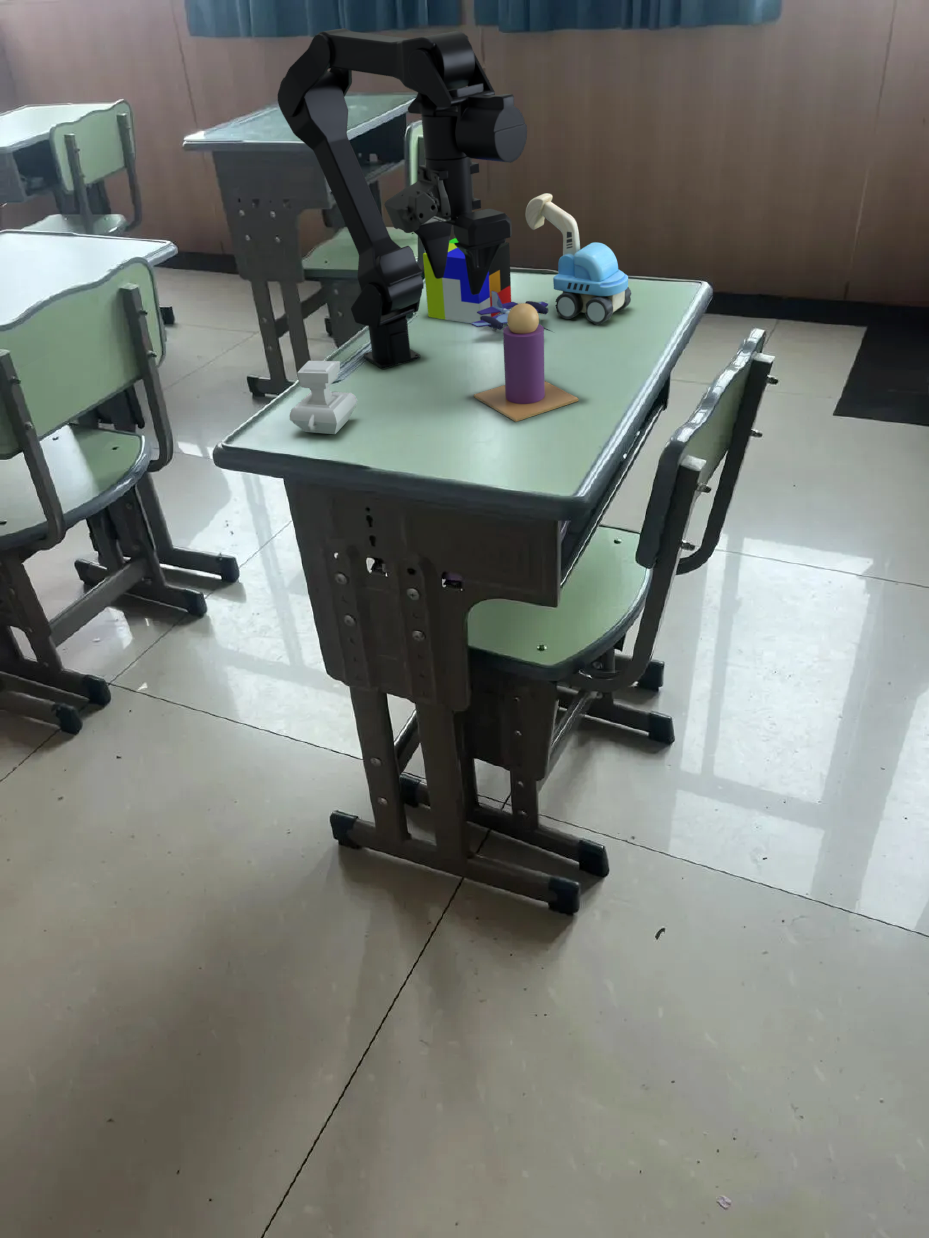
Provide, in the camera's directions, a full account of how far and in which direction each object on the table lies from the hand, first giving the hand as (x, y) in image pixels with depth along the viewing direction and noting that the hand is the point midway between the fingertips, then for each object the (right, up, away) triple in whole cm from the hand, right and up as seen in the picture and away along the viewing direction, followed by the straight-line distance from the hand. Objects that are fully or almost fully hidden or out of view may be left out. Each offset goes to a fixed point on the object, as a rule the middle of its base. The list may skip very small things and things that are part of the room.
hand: (457, 286), depth 121 cm
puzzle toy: (+2, +7, +31) cm, 32 cm away
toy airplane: (+9, 0, +21) cm, 23 cm away
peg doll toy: (+9, -14, +1) cm, 17 cm away
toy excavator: (+19, +6, +28) cm, 34 cm away
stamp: (-17, -19, -2) cm, 26 cm away
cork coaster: (+9, -15, +1) cm, 17 cm away
